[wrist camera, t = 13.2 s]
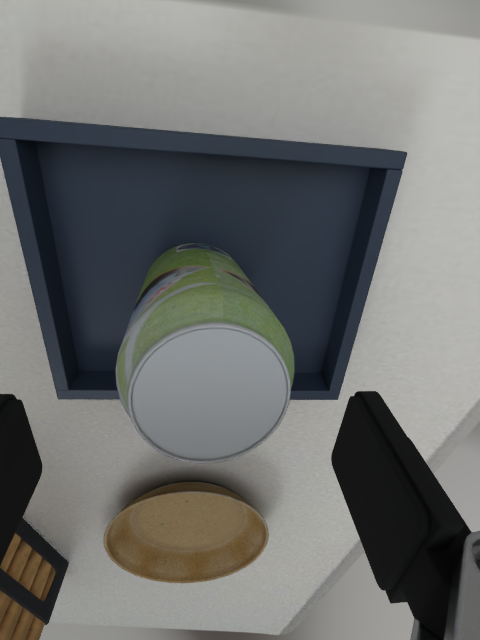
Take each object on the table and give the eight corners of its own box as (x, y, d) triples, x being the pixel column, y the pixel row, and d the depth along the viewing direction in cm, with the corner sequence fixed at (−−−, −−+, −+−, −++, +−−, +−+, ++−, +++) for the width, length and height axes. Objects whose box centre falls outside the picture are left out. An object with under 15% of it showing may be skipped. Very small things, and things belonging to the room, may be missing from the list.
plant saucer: (165, 570, 38) (163, 598, 36) (76, 502, 31) (66, 532, 29) (287, 526, 36) (292, 553, 33) (220, 442, 29) (221, 469, 26)
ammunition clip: (69, 563, 36) (12, 743, 25) (52, 567, 36) (-11, 748, 25) (9, 506, 30) (-95, 703, 20) (-10, 510, 31) (-123, 709, 20)
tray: (19, 117, 17) (-10, 116, 14) (383, 149, 19) (408, 152, 16) (71, 374, 24) (57, 399, 22) (326, 376, 26) (338, 400, 24)
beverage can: (136, 313, 22) (69, 488, 11) (168, 199, 18) (116, 293, 8) (229, 340, 23) (247, 515, 13) (274, 239, 20) (346, 361, 10)
